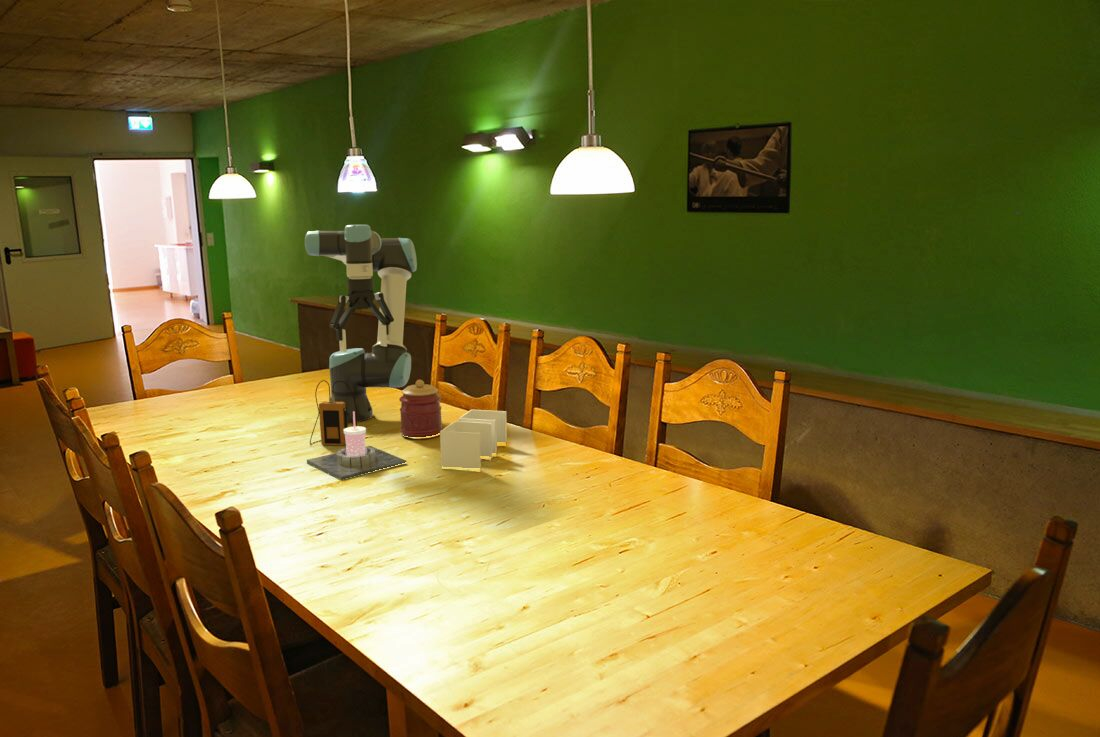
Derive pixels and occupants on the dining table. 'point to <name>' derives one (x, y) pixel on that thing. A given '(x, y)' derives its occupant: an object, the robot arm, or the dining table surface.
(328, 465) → the cup holder
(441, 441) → the desk organizer
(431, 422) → the canister
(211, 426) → the dining table surface
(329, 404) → the multimeter
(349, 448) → the beverage cup
